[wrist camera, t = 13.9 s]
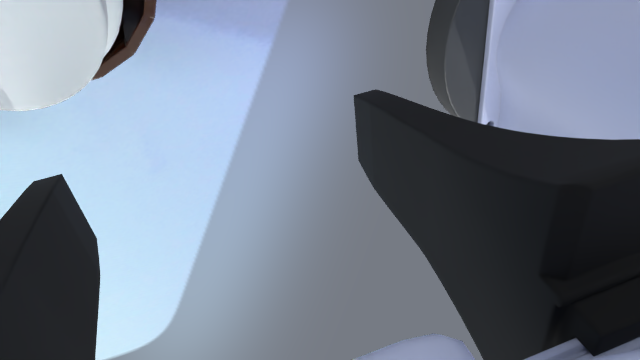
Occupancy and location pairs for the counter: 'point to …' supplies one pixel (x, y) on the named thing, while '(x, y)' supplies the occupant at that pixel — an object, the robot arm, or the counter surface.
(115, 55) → the cup
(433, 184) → the robot arm
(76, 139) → the counter surface
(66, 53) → the pill bottle
